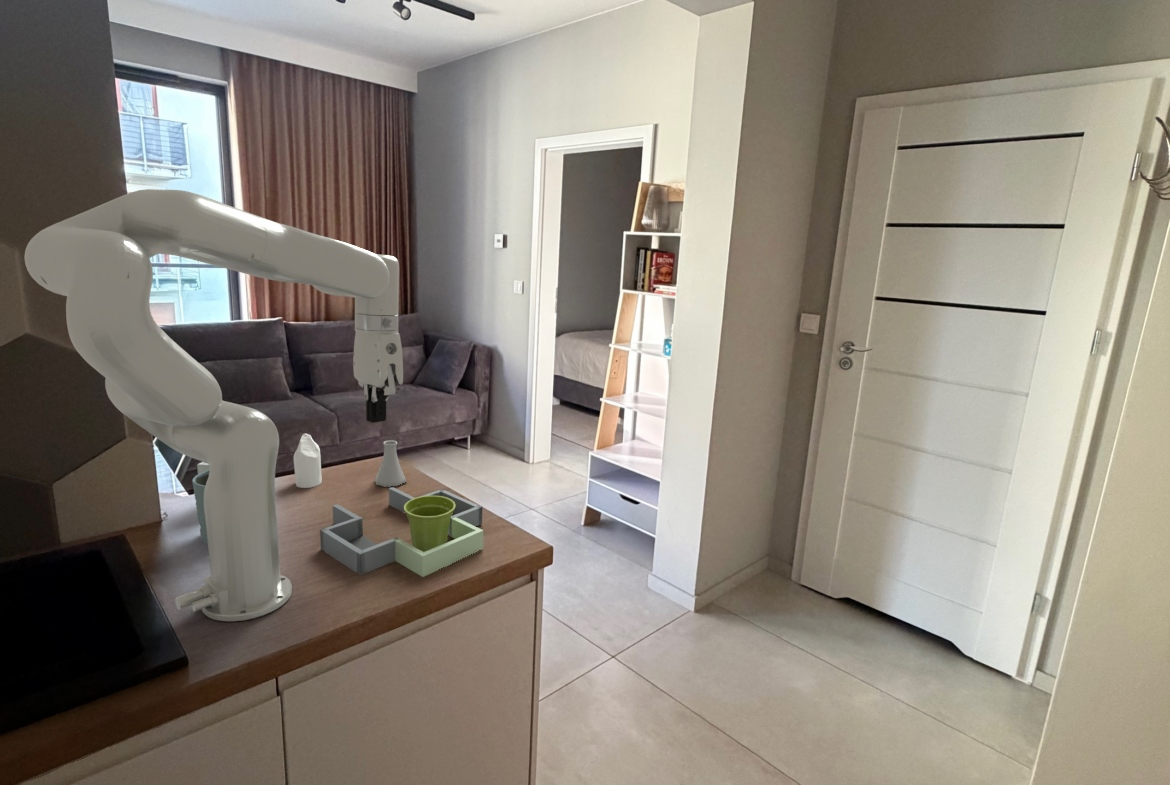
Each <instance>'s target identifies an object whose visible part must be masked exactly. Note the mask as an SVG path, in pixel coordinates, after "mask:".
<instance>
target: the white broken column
mask: <svg viewBox="0 0 1170 785" xmlns="http://www.w3.org/2000/svg"><path fill="white" fill-rule="evenodd" d="M321 460H322V458H321V449H320V446H319V444H317V442H315V441H314V439H313V438H312V435H311V434H309V433H303V434H302V435H301V437H300V440H299V443H298V446H297V448H296V451H294V454H293V468H294V477H295V486H296V487H297V488H300V489H309V488H315V487H318V486H319V485H321V484H322V482H323V481H322V463H321V462H322V461H321Z"/></svg>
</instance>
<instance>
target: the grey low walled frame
mask: <svg viewBox="0 0 1170 785" xmlns="http://www.w3.org/2000/svg"><path fill="white" fill-rule="evenodd" d="M422 496H443V497H447V498H449V499H451V500H453V501H454V502H455V509H454V511H453V514H452V516H451V518H450V524H449V529H448V535H449V536H448V537H450V536H451V538H452V537H453V540H449V541H447V542H446V543H445V544H442V545H440V546H438V547H435V548H433V549H431V550H428V551H426V552H422V551H421V550H419V549H417V548H415V547H413V545H411V544H410V543H408V542H406V541H405V540H402V539H401V538H399V537H397V536H396V537H393V538H391V539H388V540H385V541H383V542H380V543H376V542H375V541H373V540H371V539H369V538H368V537H366V536H365V535H364V534H363V533H364V530H363V528H364V525H363V518H362V516H359V515H357V514H356V513H355V512H354V513H353V512H352V511H350V510H348V509H347V508H345V507H343V506H341V505H340V504H337V503H336V504H333V505H332V525H331V526H330V525H329V526H327V527H325V528H321V529H320V530H319V534H320V536H319V537H320V550H321V551H322V552H324V553H326V554H327V555H329V556H330V557H331V558H333V559H335V560H336V561H338V562H340V563H341V564H342V565H344V566H346V567H347V568H348V569H350V570H352V571H353V572H355V573H356V574H358V575H359V576H363V575H365V574H367V573H369V572H372V571H375V570H377V569H379V568H382V567H383V566H386V565H388V564H391V563H394V562H396V563H398V564H400V565H402V566H403V567H405V568H407V569H408V570H410V571H412V572H413V573H415V574H417V575H419V576H420V577H422V578H425V577H427V576H428V575H431V574H433V573H435V572H437V571H439V569H440V570H441V568H442V569H444V568H446V567H448V566H450V565H452V563H453V564H454V562H455V563H457V562H459V561H461V560H463V559H462V558H464V557H466V556H468V555H470V556H472V555H474V554H476V553H475V552H477V551H479V550H481V549H483V550H484V529H481V528H480V527H479V526H478V525H480V526H482V525H483V506H481V505H479V504H478V503H474V502H473V501H470V500H468V499H466V498H463V497H461V496H459V495H456V494H455V493H452V492H450V491H447V490H445V489H442V488H441V489H438V490H435V491H433V492H428V493H426V494H423V495H420V496H419V497H422ZM414 498H416V497H414V496H412V495H410V494H408V493H406V492H404V491H402V490H400V489H397V488H395V486H393V487H388V506H389V505H390V506H389V507H391V506H392V507H391V508H393V507H394V508H393V509H395V508H396V509H395V510H397V509H398V510H397V511H399V510H400V511H399V512H401V511H402V512H401V513H403V512H405V511H404V505H405V504H406V503H407V502H408V501H410V500H411V499H414ZM405 513H406V512H405ZM405 513H404V514H405ZM405 515H407V513H406V514H405ZM481 524H482V525H481ZM476 526H478V527H476ZM454 538H455V539H454ZM481 551H482V550H481ZM479 552H480V551H479ZM473 553H474V554H473ZM477 553H478V552H477ZM471 554H472V555H471ZM468 557H469V556H468ZM466 558H467V557H466ZM460 559H461V560H460ZM464 559H465V558H464ZM458 560H459V561H458ZM456 561H457V562H456ZM443 567H444V568H443Z"/></svg>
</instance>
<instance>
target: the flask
mask: <svg viewBox="0 0 1170 785" xmlns="http://www.w3.org/2000/svg"><path fill="white" fill-rule="evenodd" d="M382 444H383V446H384V451H383V458H382V459H381V460H382V461H381V463H380V466H379V469H378V471H377V474H376V476H375V479H374V481H375V485H376V486H380V487H384V488H392V487H391V486H393V487H399V486H401V485H403V484H402V483H404V484H406V483H407V480H406V477H405V474H404V472H403V469H402V466H401V462H400V461H399V457H398V452H397V446H398V442H397V441H396V440H385V441H383V442H382ZM405 482H406V483H405ZM400 484H401V485H400ZM398 485H399V486H398Z"/></svg>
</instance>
